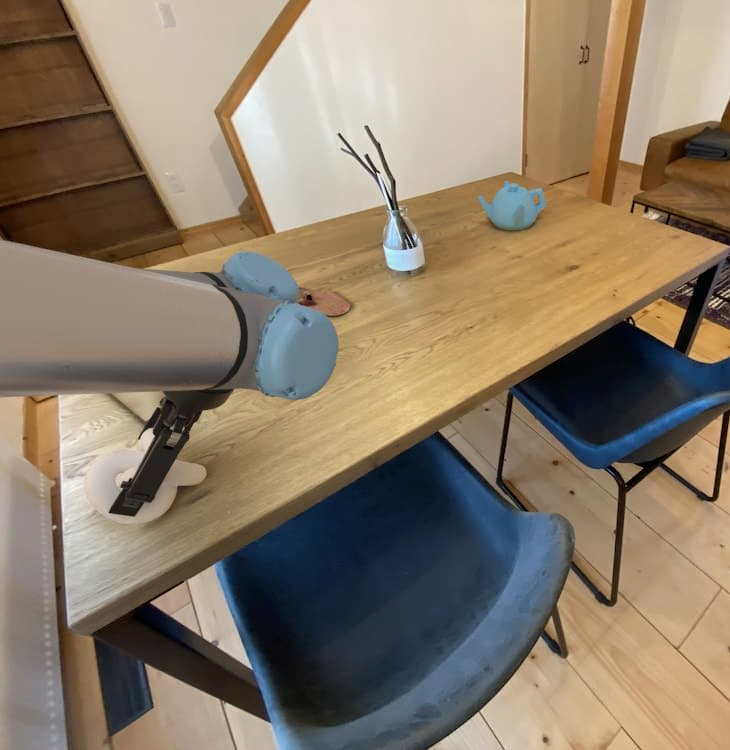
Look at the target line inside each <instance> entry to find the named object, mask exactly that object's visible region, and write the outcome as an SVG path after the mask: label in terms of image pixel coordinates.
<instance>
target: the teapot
mask: <svg viewBox="0 0 730 750" xmlns="http://www.w3.org/2000/svg"><path fill="white" fill-rule="evenodd" d="M536 196H537V198H538V202H535V200H534V198H533V197H536ZM477 199H478V201H479V203H480V205H481V206H482V208H483V210H484V211H485V213H486V215H487V217H488V219H489V220H490V222H491V223H492V224H493V225H494V226H495V227H496V228H498V229H501V230H504V231H522V230H525V229H527V228H530V227H531V226H532V225H533V224H534V223H535V222H536V220H537V219H538V215H539V213H541V211H542V210H543V209H544V208H546V207H547V201H546V198H545V195H544V191H543V188H542V187H539V188H535V189H531V190H528V189H527V188H525V187H524V186H519V184H518V183H513V182H512V183H510V181H509V180H504V184H503V187H501V188H500V189H498V191H497V192H496V194H495V196H494V198H493V199H492V202H491V203H490V204H489V203H488V202H487V200H486V199H485V197H484V196H483V195H478V196H477Z"/></svg>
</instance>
